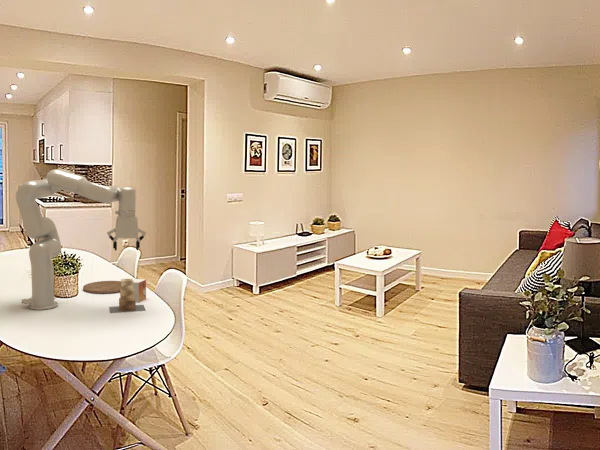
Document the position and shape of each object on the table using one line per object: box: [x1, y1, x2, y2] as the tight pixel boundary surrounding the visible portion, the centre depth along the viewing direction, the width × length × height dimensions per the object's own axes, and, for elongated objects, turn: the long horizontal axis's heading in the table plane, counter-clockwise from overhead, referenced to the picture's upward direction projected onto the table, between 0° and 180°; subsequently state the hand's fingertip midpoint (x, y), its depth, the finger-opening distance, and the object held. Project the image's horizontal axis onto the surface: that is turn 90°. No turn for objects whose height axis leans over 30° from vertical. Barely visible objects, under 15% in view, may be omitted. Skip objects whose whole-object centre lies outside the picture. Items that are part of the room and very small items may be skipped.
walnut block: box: [118, 297, 137, 311], centre depth 252 cm, size 7×7×4 cm
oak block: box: [119, 289, 134, 302], centre depth 251 cm, size 6×6×4 cm
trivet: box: [82, 280, 121, 295], centre depth 291 cm, size 25×25×2 cm
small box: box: [133, 278, 147, 303], centre depth 267 cm, size 8×6×10 cm
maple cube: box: [120, 278, 134, 292], centre depth 251 cm, size 5×5×5 cm
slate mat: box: [108, 304, 146, 314], centre depth 252 cm, size 16×11×1 cm
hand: (126, 249), depth 249 cm, fingers open, 9 cm apart
